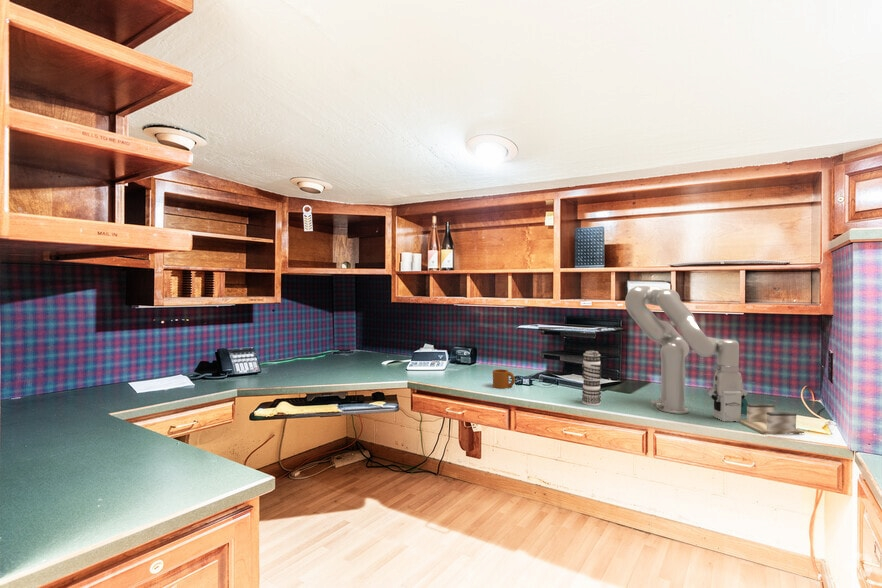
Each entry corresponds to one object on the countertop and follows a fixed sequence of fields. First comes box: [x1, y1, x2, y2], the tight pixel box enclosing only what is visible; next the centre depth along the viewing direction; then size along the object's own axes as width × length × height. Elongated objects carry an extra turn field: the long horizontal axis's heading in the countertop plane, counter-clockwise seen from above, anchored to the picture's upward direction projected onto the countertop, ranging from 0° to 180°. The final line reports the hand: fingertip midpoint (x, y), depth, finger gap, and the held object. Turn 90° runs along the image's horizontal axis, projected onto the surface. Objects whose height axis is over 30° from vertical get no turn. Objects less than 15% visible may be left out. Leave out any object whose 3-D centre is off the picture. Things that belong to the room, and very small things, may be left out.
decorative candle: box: [581, 350, 603, 406], centre depth 206 cm, size 9×9×25 cm
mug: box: [492, 369, 516, 390], centre depth 237 cm, size 9×12×9 cm
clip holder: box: [738, 403, 805, 435], centre depth 171 cm, size 16×13×8 cm
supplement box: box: [712, 390, 742, 423], centre depth 182 cm, size 7×7×13 cm
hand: (727, 410), depth 182 cm, fingers closed on supplement box, 7 cm apart
